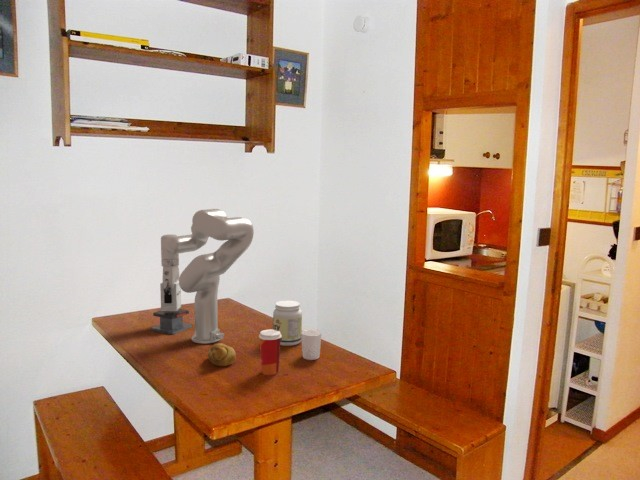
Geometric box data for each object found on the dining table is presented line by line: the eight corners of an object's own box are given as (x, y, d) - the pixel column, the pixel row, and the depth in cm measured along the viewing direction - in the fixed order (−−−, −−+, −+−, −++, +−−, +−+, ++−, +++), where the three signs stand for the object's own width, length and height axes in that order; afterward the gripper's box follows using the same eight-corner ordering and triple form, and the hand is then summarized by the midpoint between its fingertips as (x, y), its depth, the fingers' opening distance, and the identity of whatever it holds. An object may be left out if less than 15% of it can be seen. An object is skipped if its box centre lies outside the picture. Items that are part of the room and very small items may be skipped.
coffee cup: (269, 366, 196) (270, 327, 194) (286, 371, 191) (286, 332, 189) (253, 372, 189) (253, 332, 187) (269, 378, 184) (269, 337, 182)
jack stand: (192, 327, 241) (191, 310, 240) (172, 334, 230) (172, 317, 229) (170, 322, 247) (170, 306, 246) (150, 330, 235) (149, 313, 234)
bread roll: (203, 359, 202) (202, 339, 201) (226, 354, 207) (226, 335, 206) (215, 370, 191) (214, 349, 190) (239, 365, 196) (239, 344, 195)
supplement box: (177, 311, 233) (176, 283, 232) (160, 311, 233) (159, 283, 232) (181, 307, 241) (181, 280, 239) (165, 306, 241) (164, 279, 239)
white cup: (303, 361, 201) (303, 336, 200) (298, 354, 209) (299, 330, 207) (323, 359, 203) (323, 334, 202) (318, 352, 211) (318, 328, 210)
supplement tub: (268, 339, 226) (268, 301, 224) (294, 335, 231) (294, 298, 229) (279, 348, 215) (280, 308, 213) (306, 344, 221) (307, 305, 218)
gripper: (171, 266, 225) (172, 306, 228) (184, 259, 242) (185, 296, 245) (154, 265, 226) (156, 305, 228) (168, 258, 243) (169, 296, 245)
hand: (171, 300), depth 236 cm, fingers closed on supplement box, 7 cm apart
